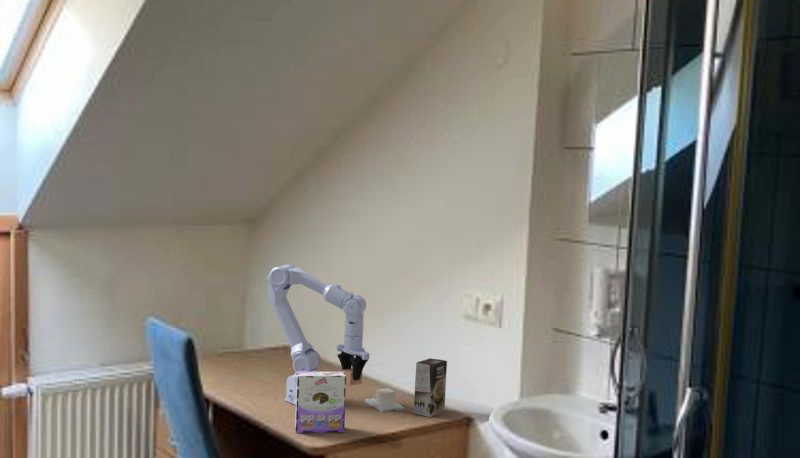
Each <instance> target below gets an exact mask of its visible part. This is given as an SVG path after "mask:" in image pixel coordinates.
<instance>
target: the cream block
mask: <svg viewBox="0 0 800 458" xmlns="http://www.w3.org/2000/svg"><path fill="white" fill-rule="evenodd" d="M375 398H376V402H377V403H378V404H380V405H393V404H395V402H396V401H395V400H396V392H395V391H394V390H392V389H391V388H377V389H375Z"/></svg>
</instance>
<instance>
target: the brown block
mask: <svg viewBox="0 0 800 458" xmlns="http://www.w3.org/2000/svg"><path fill="white" fill-rule="evenodd" d="M341 371H344V373H345V375H346V386H355V385H362V384H363V372H362V373H361V377H360V380H353V370H352V367H351V369H344V370H342V369H341Z"/></svg>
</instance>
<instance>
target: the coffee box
mask: <svg viewBox="0 0 800 458" xmlns="http://www.w3.org/2000/svg"><path fill="white" fill-rule="evenodd" d="M447 368H448V361H447V360H444V359H437V358H432V357H431V358H430V357H429V358H426V359H423V360H421V361H417V362H416V364H415V378H414V379H415V383H414V396H413V397H414V399H413V401H414V402H413V414H414V415H419V416H423V417H427V418H432V417H435V416H436V415H439V414H441V413H443V412H445V407H446V389H447V370H448V369H447Z"/></svg>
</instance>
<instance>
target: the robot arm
mask: <svg viewBox="0 0 800 458" xmlns="http://www.w3.org/2000/svg"><path fill="white" fill-rule="evenodd" d="M267 282H268V284H267V285H268V287H267V289H268V290H267V298H268V300H269V303H270V305H271V306H272V307H271V308H272V309H273V312H274V314H275V316H276V319H277V321H278V322H279V324H280V327H281V329H282V331H283V333H284V335H285V337H286V339H287V342H288V344H289V347H290V357H291V359H292V368H293V370H294V374H293V375H290V376H288V377H287V379H286V388H285V392H286V393H285V398H284V401H286V402H288V403H290V404H292V405H294V406H296V383H297V371H299V372H300V371H304V372H312V371H314V372H319V370H318V367H319V366H320V365H321V363H322V362H321V361H322V358H321V355H320V354H319V352H318V351H316V350H315V349H314V346H313V345H312V344H311V343H310V342H308V340H307V339H306V336H305V334H304V332H303V330H302V328H301V326H300V324H299V321H298V320H297V317H296V315H295V312H294V311H293V309H292V306H291V305H290V302H289V300H288V298H287V295H288V292H289V290H290V289H291V286H292V285H302V286H303V287H306V288H308V289H311V290H312V291H315V292H316V293H319V294H321V296H322V297H323V299H324V301H326V302H328V303H329V304H331V305H333V306H335V308H338V309H340V310H343V312H344V314H345V320H344V338H343V343H342V344H337V345H336V351H337V352H340V353H337V357H338V360H339V363H340V365H341V366H340V367H341V371H342V370H344V369H351V368H352V370H353V380H360V377H361V373H362V374H363V370H364V368H365V366H366V364H367V362H369V360H370V353H369V352H367V351H366V350H365V349H366V348H364V347H363V337H364V312H365V311H366V308H367V302H366V300H365V299H364V297H362V296H361V294H360V295H359V294H357V295H354V294H355V293H354V292H352V291H351V292H349V291H347V290H345V289H344V288H341V287H342V286H341V285H340V284H338V283H337V284H335V283H333V284H330V285H328V284H326V283H324V282H323V281H321V280H319V279H318V278H316V277H315V276H313V275H311V274H309V273H308V272H306V271H305V270H303V269H301V268H300V267H297V266H295V265H293V264H291V263H286V264H283V265H281V266H275V267H273V268H272V269H271V270H270V271H269V274H268V275H267Z"/></svg>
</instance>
